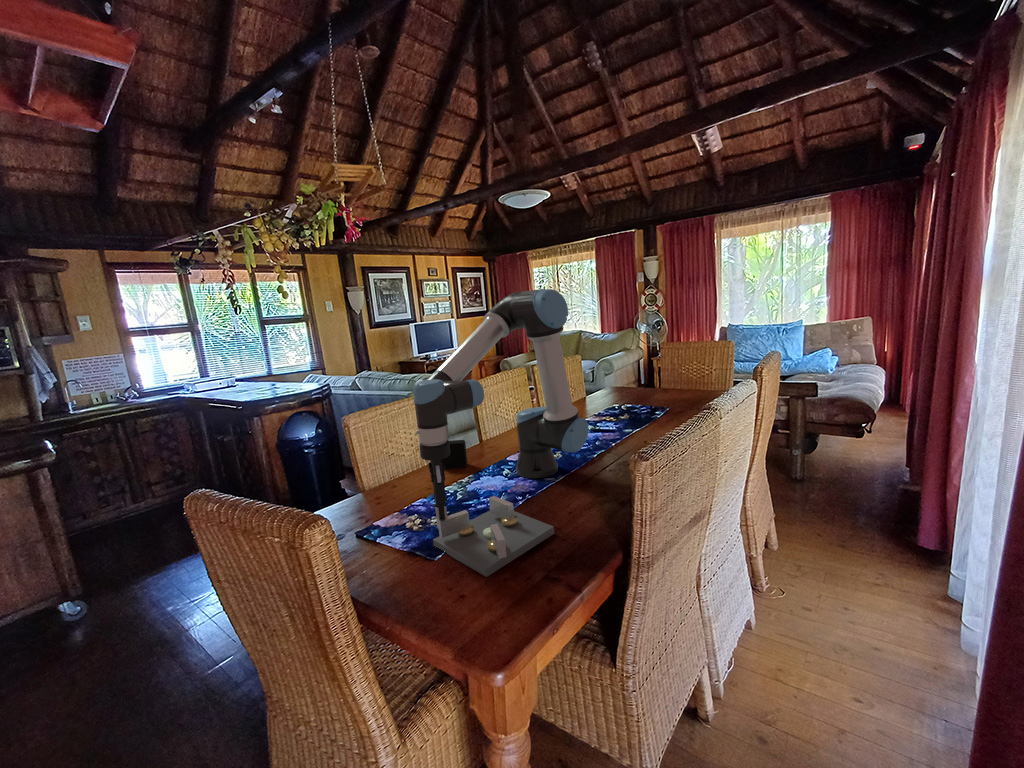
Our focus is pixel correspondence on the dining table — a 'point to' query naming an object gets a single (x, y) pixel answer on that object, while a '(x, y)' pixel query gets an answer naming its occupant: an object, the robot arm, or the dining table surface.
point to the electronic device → (456, 455)
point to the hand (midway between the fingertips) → (442, 527)
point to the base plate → (475, 545)
